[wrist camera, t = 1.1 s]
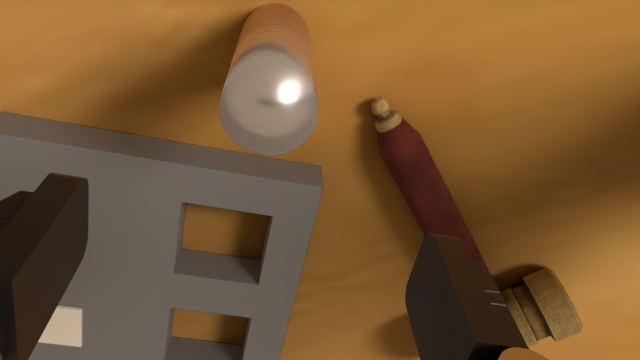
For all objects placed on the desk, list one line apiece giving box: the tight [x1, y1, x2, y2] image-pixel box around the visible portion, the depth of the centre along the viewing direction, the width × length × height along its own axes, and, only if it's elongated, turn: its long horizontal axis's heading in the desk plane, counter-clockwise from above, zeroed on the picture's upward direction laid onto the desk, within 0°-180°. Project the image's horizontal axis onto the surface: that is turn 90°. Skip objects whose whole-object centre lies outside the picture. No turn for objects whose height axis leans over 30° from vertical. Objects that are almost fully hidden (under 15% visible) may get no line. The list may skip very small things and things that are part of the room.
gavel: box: [371, 97, 583, 347], centre depth 34 cm, size 21×5×10 cm
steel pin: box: [219, 4, 318, 155], centre depth 24 cm, size 4×4×10 cm
